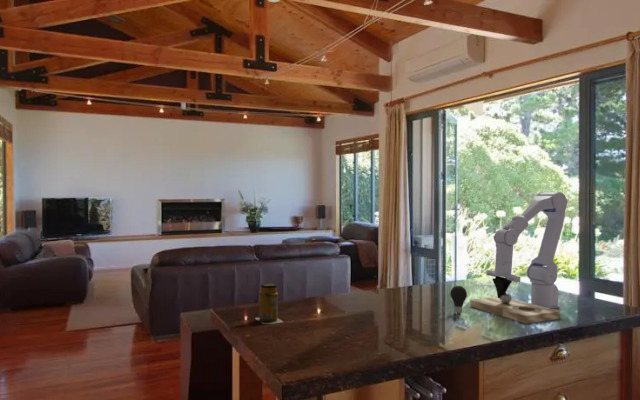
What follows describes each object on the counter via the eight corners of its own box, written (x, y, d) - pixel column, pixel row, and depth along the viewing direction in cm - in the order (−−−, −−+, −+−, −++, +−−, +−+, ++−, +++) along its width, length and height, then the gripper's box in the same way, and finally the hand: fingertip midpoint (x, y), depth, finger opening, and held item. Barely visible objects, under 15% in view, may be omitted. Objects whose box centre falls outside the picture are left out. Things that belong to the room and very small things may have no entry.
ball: (506, 290, 171) (513, 293, 167) (508, 300, 171) (514, 304, 167) (497, 292, 170) (503, 296, 166) (498, 303, 171) (504, 306, 167)
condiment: (274, 316, 159) (275, 281, 159) (283, 322, 151) (284, 286, 151) (254, 318, 156) (254, 283, 155) (262, 325, 148) (262, 288, 148)
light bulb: (467, 316, 161) (467, 287, 160) (451, 315, 162) (451, 286, 162) (465, 312, 166) (466, 284, 166) (449, 311, 167) (449, 284, 167)
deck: (501, 302, 182) (501, 296, 182) (560, 318, 158) (560, 311, 158) (470, 306, 175) (470, 299, 175) (526, 323, 152) (526, 315, 152)
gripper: (481, 258, 175) (478, 294, 175) (511, 264, 162) (508, 303, 162) (495, 258, 178) (492, 293, 178) (525, 264, 164) (523, 302, 164)
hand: (501, 298), depth 170 cm, fingers closed, pressing on ball
